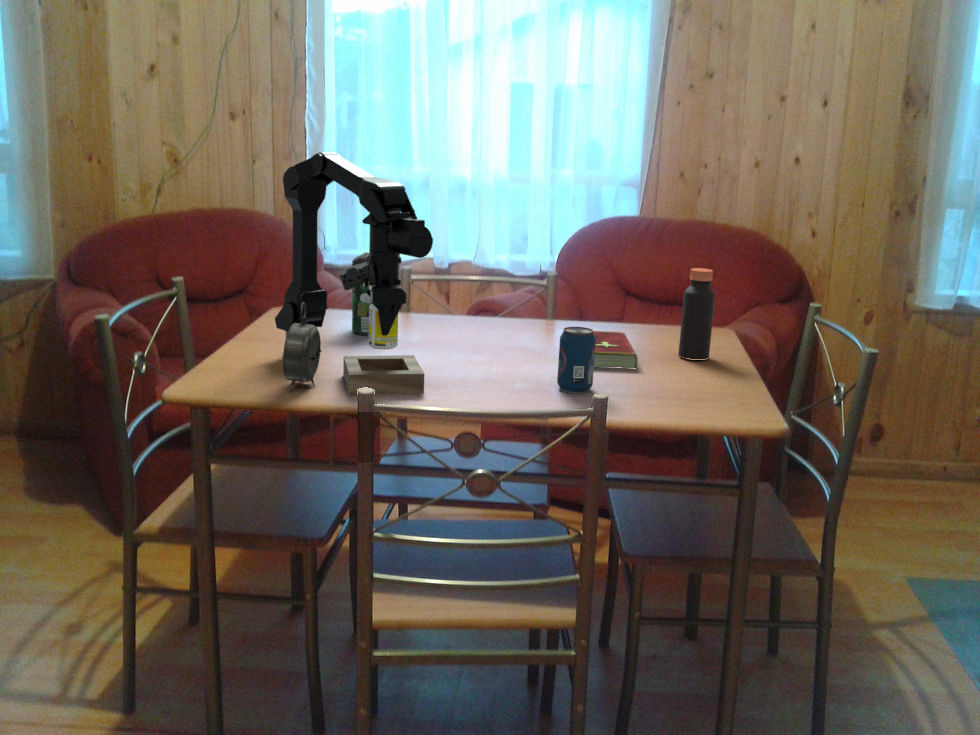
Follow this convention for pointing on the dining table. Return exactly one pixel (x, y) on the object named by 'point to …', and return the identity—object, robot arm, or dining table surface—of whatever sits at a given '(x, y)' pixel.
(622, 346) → the hardcover book
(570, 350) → the soda can
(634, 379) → the dining table surface
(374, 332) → the supplement bottle
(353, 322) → the coffee jar
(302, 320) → the alarm clock
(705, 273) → the vinegar
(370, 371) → the well block
